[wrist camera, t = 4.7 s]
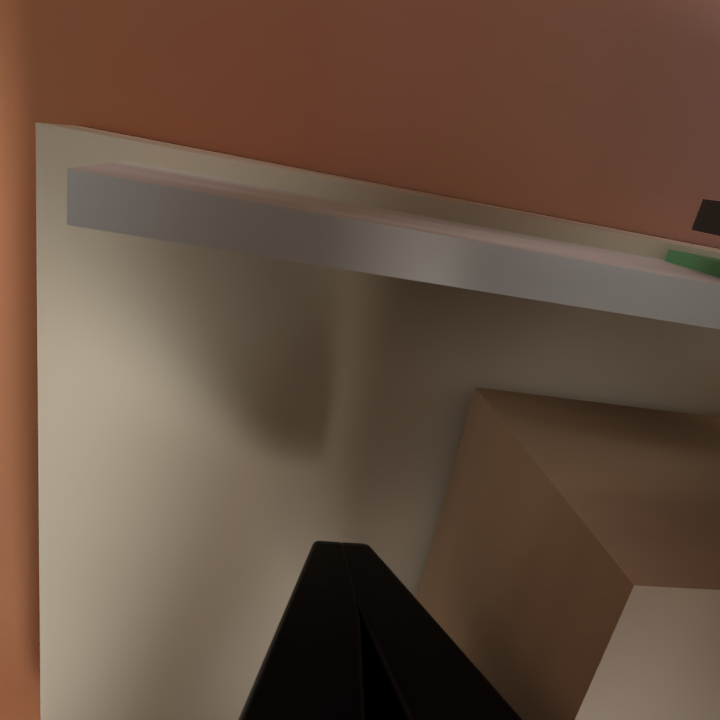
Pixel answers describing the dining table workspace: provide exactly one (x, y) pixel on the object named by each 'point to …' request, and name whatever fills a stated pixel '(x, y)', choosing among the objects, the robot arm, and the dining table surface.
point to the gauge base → (291, 389)
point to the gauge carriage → (584, 554)
